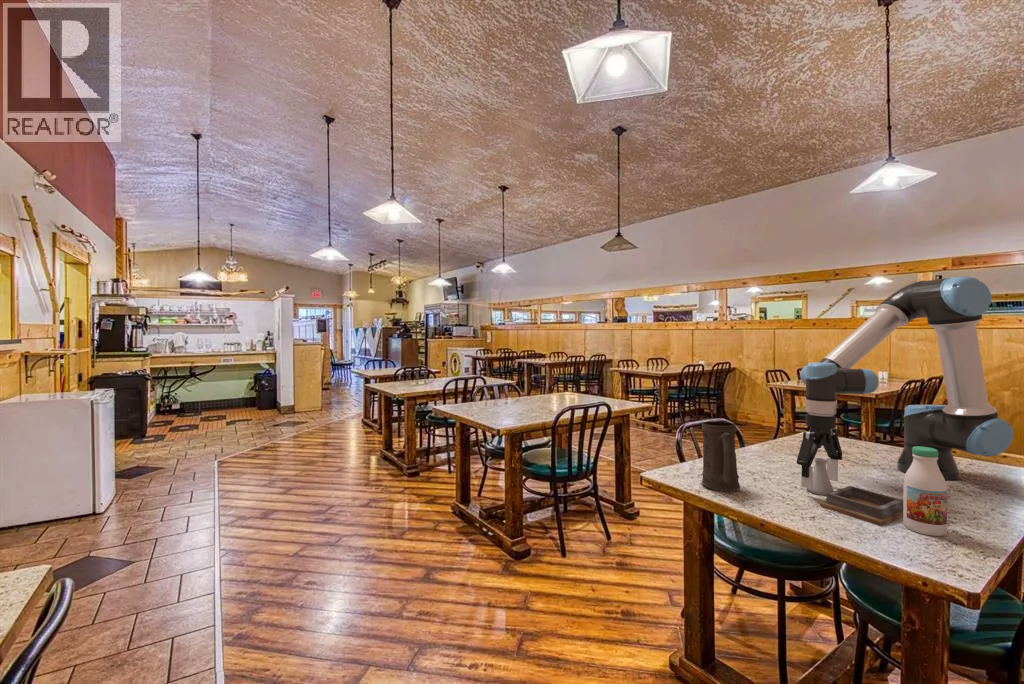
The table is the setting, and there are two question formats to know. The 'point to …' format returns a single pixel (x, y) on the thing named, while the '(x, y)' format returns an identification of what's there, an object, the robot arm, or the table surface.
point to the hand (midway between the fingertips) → (819, 483)
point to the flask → (821, 478)
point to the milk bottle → (925, 494)
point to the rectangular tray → (864, 505)
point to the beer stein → (719, 456)
